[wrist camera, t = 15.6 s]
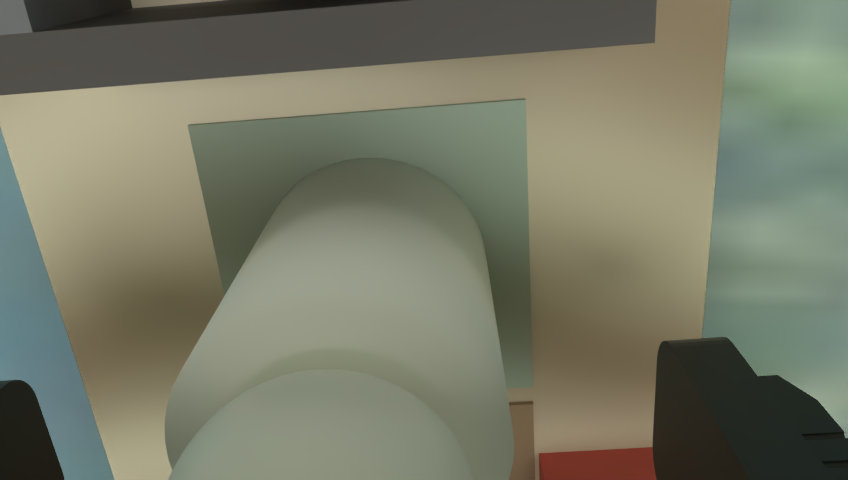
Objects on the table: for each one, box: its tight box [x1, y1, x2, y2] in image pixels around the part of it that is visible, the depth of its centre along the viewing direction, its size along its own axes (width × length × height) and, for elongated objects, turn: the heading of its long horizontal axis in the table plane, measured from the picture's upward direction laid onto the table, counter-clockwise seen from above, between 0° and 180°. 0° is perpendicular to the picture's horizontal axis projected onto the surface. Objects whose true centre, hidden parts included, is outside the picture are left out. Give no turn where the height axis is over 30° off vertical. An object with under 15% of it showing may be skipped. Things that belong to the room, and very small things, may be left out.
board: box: [0, 0, 731, 480], centre depth 13 cm, size 28×12×5 cm, turn 5°
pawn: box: [164, 158, 514, 480], centre depth 9 cm, size 4×4×8 cm
